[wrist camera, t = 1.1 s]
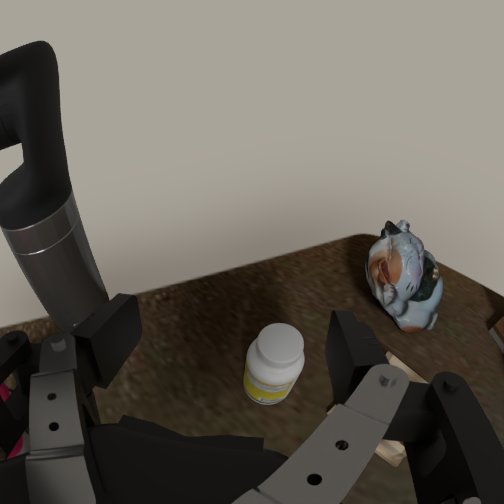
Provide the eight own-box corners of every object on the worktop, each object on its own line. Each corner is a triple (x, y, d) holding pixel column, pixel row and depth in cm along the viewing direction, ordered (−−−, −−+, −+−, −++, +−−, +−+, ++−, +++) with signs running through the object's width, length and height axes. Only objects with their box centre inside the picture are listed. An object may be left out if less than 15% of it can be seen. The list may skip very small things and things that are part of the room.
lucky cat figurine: (428, 349, 33) (439, 296, 25) (357, 331, 41) (342, 276, 33) (447, 270, 40) (453, 206, 31) (385, 259, 48) (376, 198, 39)
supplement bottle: (265, 354, 32) (279, 305, 26) (299, 384, 30) (325, 342, 23) (232, 382, 29) (236, 339, 23) (266, 415, 27) (284, 383, 20)
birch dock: (327, 413, 27) (336, 405, 25) (375, 356, 33) (385, 345, 31) (394, 467, 21) (408, 462, 19) (433, 404, 27) (446, 395, 25)
